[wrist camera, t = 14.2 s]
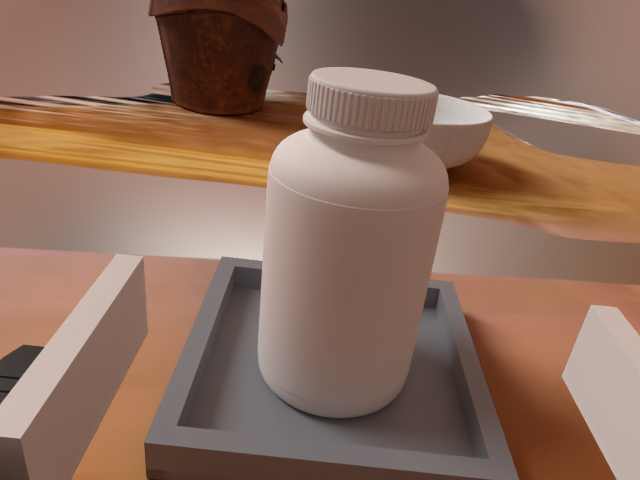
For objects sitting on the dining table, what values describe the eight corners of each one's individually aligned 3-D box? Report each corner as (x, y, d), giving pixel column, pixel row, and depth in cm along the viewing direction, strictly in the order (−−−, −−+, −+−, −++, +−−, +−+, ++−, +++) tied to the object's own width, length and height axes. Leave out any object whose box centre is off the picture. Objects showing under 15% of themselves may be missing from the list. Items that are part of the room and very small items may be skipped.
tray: (146, 478, 22) (144, 442, 21) (221, 284, 35) (222, 256, 34) (506, 516, 22) (520, 482, 21) (445, 308, 35) (452, 282, 34)
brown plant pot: (212, 131, 64) (215, -36, 56) (124, 94, 75) (116, -49, 67) (312, 115, 76) (327, -23, 68) (224, 86, 88) (228, -36, 80)
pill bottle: (388, 322, 32) (440, 68, 25) (422, 425, 25) (506, 112, 18) (257, 318, 31) (273, 52, 24) (254, 423, 24) (275, 92, 17)
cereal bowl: (466, 151, 68) (479, 95, 65) (491, 202, 54) (510, 133, 50) (334, 134, 69) (341, 78, 66) (323, 180, 54) (331, 111, 51)
